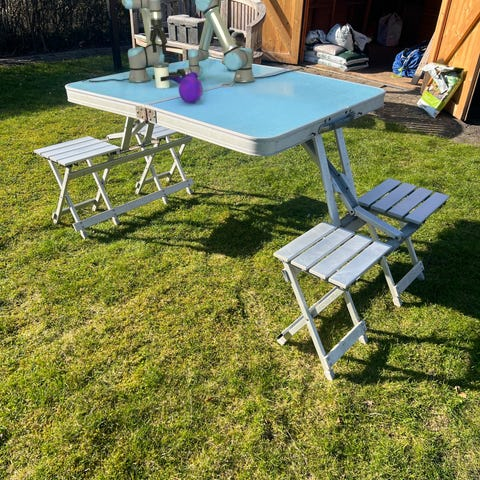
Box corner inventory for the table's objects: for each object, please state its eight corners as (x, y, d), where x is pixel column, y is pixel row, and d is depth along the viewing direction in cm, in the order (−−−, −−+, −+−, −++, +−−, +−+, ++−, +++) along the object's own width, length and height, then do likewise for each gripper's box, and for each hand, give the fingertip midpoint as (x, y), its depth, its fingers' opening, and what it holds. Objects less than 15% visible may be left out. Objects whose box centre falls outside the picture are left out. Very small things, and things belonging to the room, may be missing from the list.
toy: (192, 94, 296) (203, 108, 275) (166, 89, 289) (175, 104, 268) (197, 69, 288) (208, 82, 267) (170, 64, 281) (180, 77, 260)
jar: (167, 84, 326) (165, 62, 318) (172, 87, 318) (169, 64, 310) (154, 86, 322) (151, 63, 314) (158, 88, 314) (155, 66, 307)
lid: (166, 64, 319) (165, 61, 318) (171, 66, 311) (170, 64, 310) (151, 66, 315) (150, 63, 314) (155, 68, 307) (155, 65, 306)
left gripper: (142, 18, 304) (146, 52, 315) (160, 20, 288) (164, 55, 299) (152, 17, 308) (155, 51, 319) (170, 19, 292) (173, 54, 303)
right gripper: (192, 81, 321) (165, 86, 309) (175, 77, 336) (149, 81, 324) (191, 70, 317) (164, 74, 305) (174, 66, 332) (148, 70, 320)
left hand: (159, 53), depth 309 cm, fingers open, 12 cm apart
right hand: (156, 78), depth 314 cm, fingers closed on jar, 10 cm apart
